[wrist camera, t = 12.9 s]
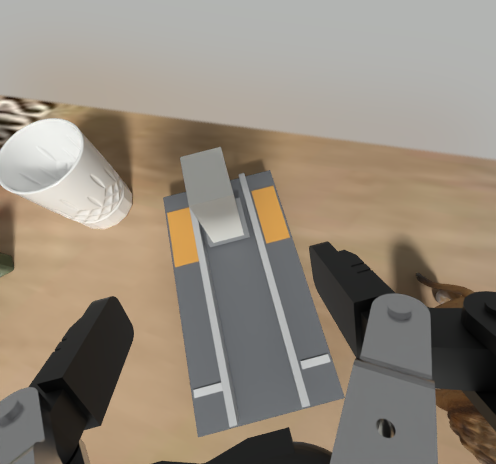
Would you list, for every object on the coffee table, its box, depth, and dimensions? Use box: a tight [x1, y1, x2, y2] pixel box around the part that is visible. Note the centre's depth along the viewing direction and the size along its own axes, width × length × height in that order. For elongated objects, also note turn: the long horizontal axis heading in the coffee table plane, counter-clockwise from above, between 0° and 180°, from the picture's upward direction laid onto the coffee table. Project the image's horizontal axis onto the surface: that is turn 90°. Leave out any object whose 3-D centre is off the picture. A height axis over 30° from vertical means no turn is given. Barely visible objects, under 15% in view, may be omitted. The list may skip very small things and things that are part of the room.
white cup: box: [0, 118, 132, 229], centre depth 27 cm, size 8×8×10 cm
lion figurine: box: [416, 273, 496, 464], centre depth 20 cm, size 15×5×9 cm, turn 3°
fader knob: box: [180, 147, 250, 247], centre depth 22 cm, size 4×4×9 cm
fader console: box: [163, 170, 345, 437], centre depth 25 cm, size 12×22×4 cm, turn 14°
